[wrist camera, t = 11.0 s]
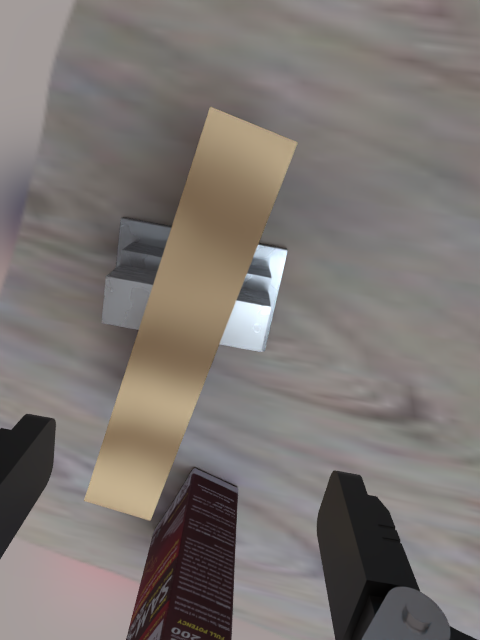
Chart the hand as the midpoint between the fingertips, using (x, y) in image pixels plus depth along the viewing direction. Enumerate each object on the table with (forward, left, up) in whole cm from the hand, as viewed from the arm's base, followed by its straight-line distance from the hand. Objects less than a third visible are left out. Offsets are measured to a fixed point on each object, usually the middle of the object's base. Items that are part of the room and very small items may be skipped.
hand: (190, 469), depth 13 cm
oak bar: (+1, -2, -15) cm, 15 cm away
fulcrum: (+1, -2, -22) cm, 22 cm away
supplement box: (+22, +1, -22) cm, 31 cm away
